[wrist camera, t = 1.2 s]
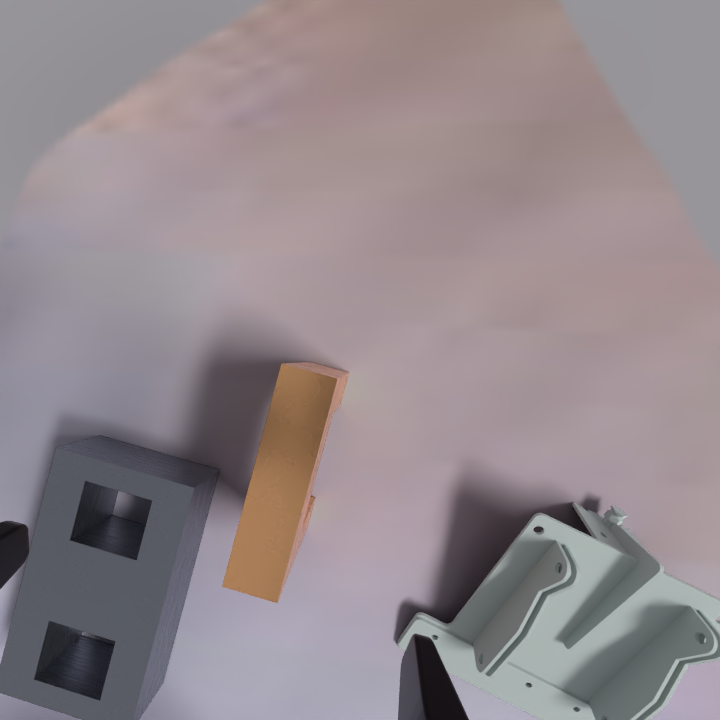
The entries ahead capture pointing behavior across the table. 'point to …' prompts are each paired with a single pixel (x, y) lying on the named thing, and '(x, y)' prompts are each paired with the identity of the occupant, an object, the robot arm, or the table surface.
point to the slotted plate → (105, 580)
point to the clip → (284, 478)
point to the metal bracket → (578, 624)
